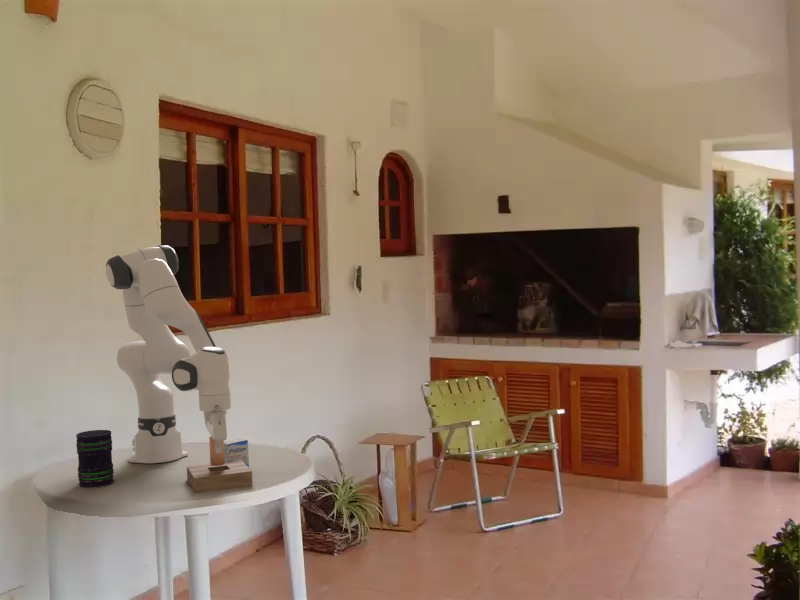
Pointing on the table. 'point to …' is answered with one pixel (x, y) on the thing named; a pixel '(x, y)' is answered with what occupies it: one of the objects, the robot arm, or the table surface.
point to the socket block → (219, 476)
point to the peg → (216, 454)
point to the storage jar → (95, 458)
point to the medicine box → (236, 450)
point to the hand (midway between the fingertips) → (217, 450)
